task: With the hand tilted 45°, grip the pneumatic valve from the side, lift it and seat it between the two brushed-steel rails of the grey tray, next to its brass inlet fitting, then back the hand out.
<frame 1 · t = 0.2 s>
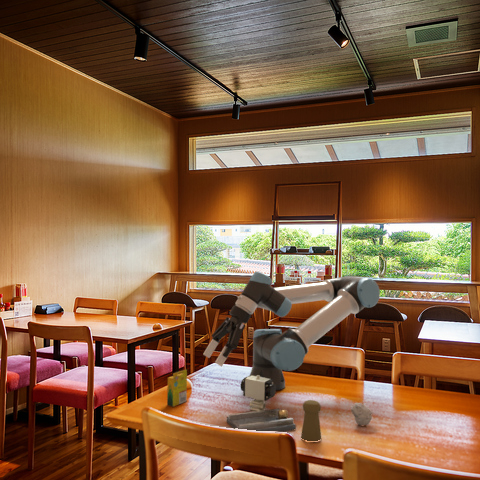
hand: (211, 360, 162), 15 cm above the table, tool tilted 35°, fingers open, 13 cm apart
gray rock: (361, 426, 144), on the table
pneumatic valve: (258, 410, 156), on the table
grey tray: (260, 425, 142), on the table
olive pepper shaker: (311, 439, 133), on the table
crayon box: (176, 404, 160), on the table
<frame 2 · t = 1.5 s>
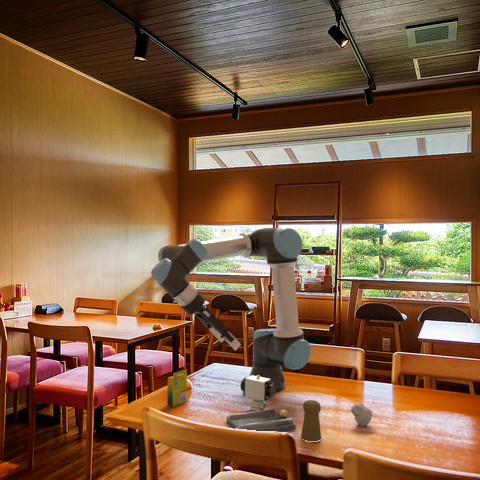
hand: (230, 343, 152), 23 cm above the table, tool tilted 45°, fingers open, 13 cm apart
nothing on the table moved.
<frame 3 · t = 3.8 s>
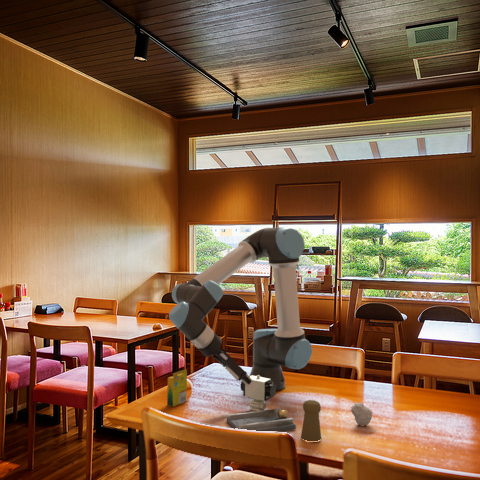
hand: (247, 383, 154), 10 cm above the table, tool tilted 45°, fingers open, 13 cm apart
nothing on the table moved.
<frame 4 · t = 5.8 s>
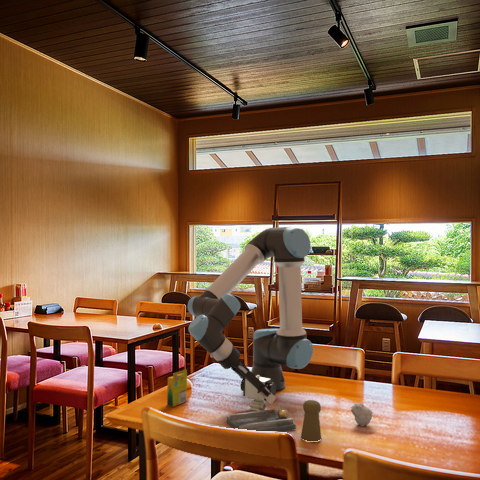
hand: (266, 396, 157), 5 cm above the table, tool tilted 45°, fingers closed on pneumatic valve, 10 cm apart
pneumatic valve: (258, 410, 156), on the table, touching gripper
everything else where it was.
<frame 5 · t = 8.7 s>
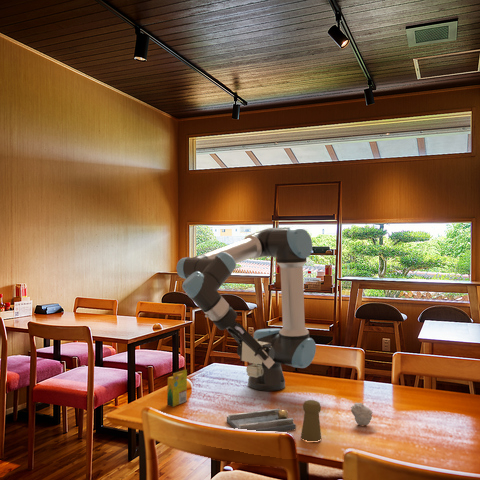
hand: (264, 361, 147), 19 cm above the table, tool tilted 45°, fingers closed on pneumatic valve, 10 cm apart
pneumatic valve: (255, 376, 147), point 14 cm above the table, touching gripper
everything else where it was.
when the fingers open (7 cm above the table, at t = 11.6 s): pneumatic valve drops 1 cm, resting on grey tray.
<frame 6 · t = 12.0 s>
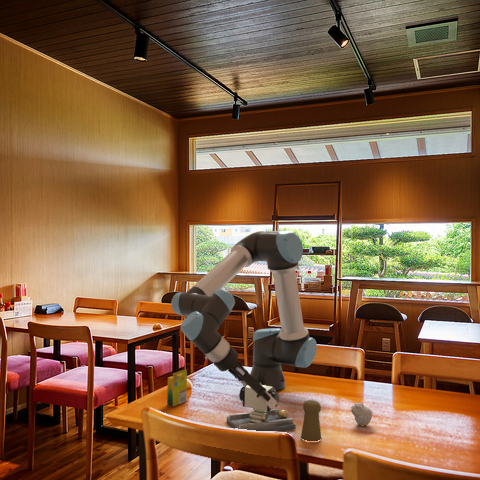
hand: (264, 398, 143), 8 cm above the table, tool tilted 45°, fingers open, 13 cm apart
pneumatic valve: (259, 422, 141), point 1 cm above the table, touching grey tray
everything else where it was.
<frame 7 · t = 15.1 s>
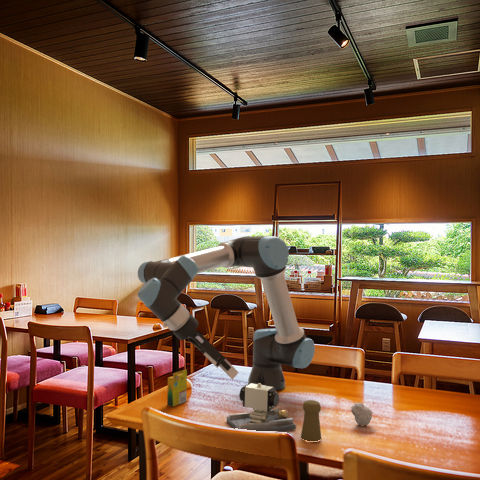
hand: (227, 370, 138), 18 cm above the table, tool tilted 45°, fingers open, 13 cm apart
nothing on the table moved.
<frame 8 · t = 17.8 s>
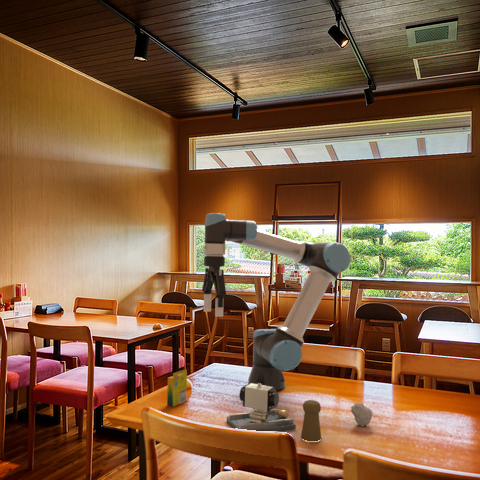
hand: (213, 314, 164), 32 cm above the table, tool pointing down, fingers open, 13 cm apart
nothing on the table moved.
at the end: pneumatic valve 0.5 cm from the target spot on the grey tray, point 1.3 cm above the grey tray's base; pneumatic valve tilted 0°; the gripper is holding nothing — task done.
